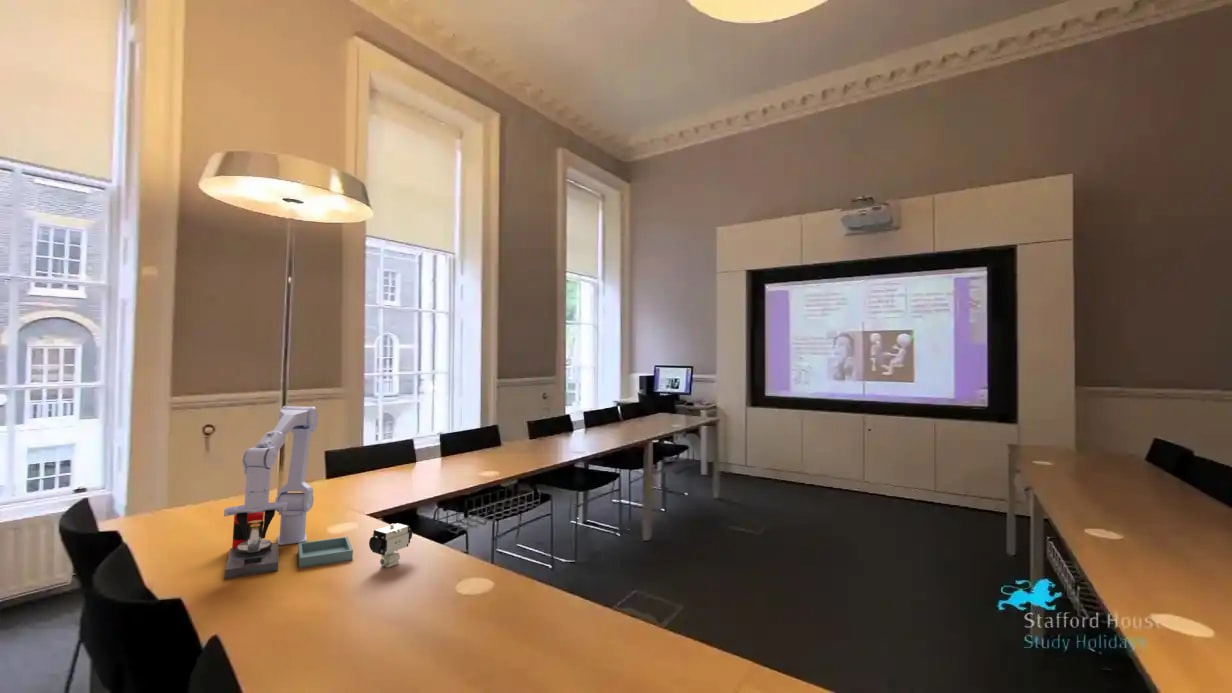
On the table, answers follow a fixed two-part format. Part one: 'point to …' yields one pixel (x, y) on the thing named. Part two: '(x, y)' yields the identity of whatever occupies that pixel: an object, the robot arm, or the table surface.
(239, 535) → the soda can
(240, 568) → the bracket
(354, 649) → the table surface
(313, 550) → the tray
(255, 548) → the lock pin
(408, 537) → the pneumatic valve
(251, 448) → the robot arm
